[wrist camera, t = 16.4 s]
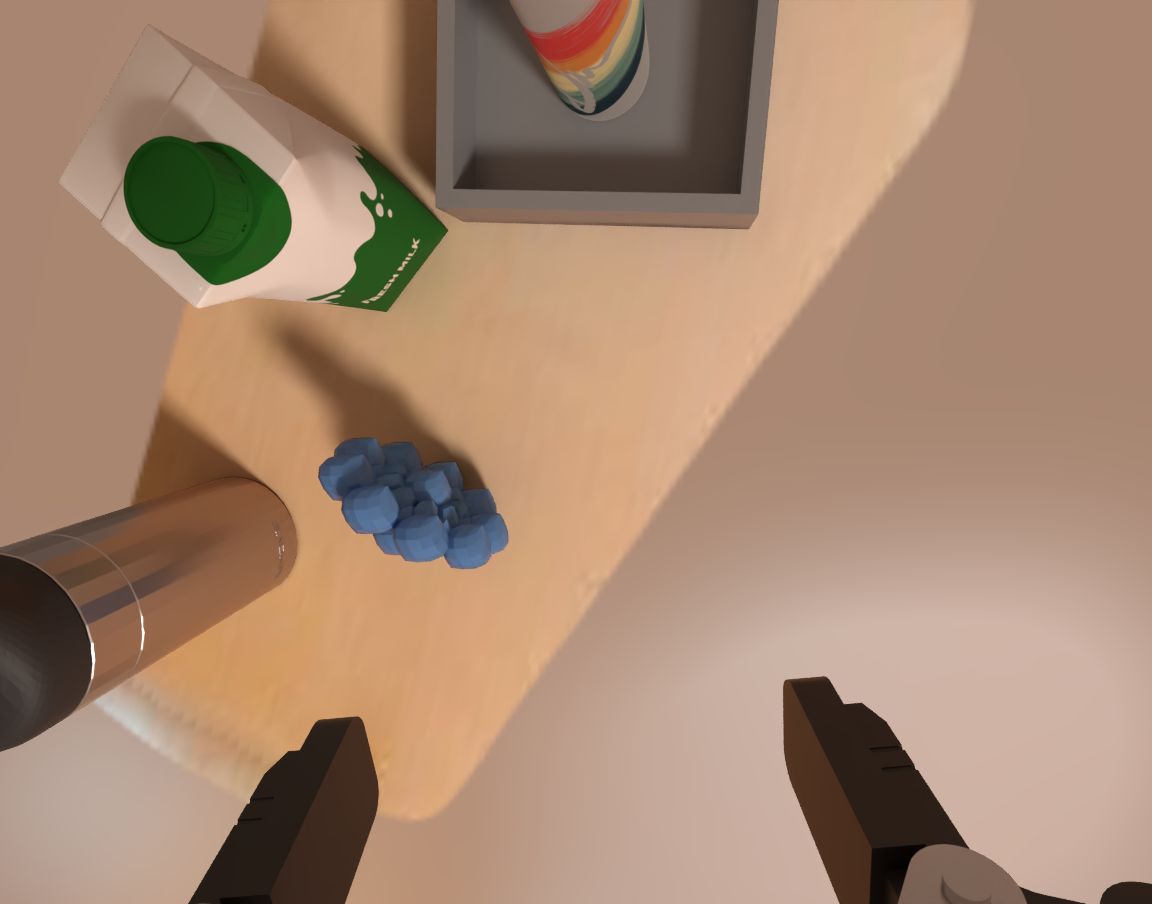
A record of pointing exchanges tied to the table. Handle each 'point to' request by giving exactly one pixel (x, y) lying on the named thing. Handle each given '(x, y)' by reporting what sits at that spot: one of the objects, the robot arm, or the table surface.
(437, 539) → the grapes
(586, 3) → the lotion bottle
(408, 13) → the table surface
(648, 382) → the table surface
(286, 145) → the milk carton
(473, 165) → the bin
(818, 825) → the robot arm
